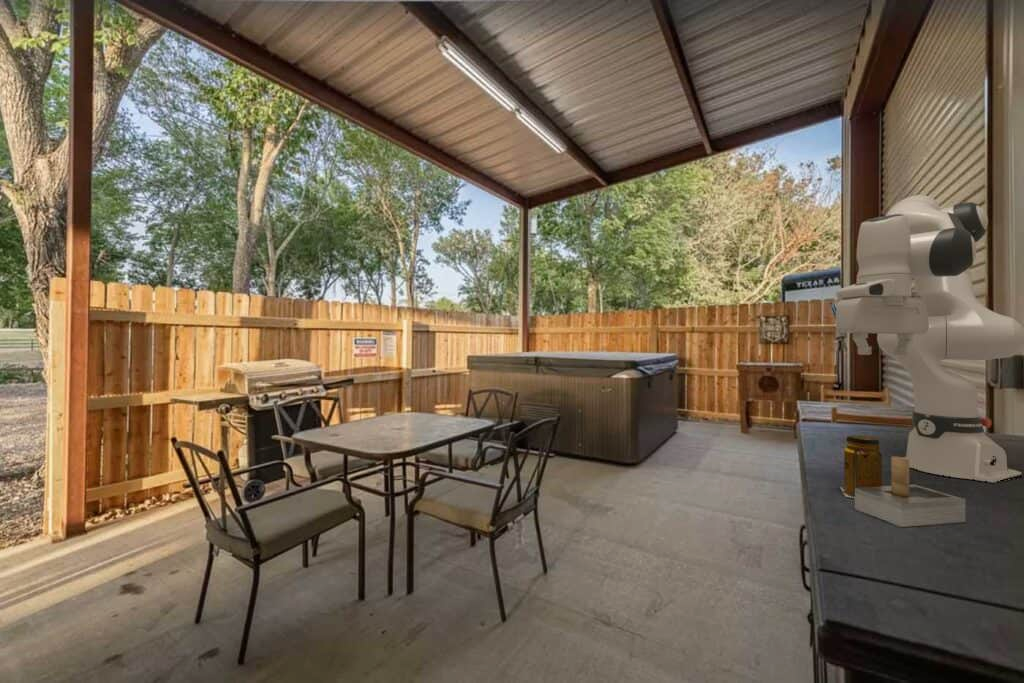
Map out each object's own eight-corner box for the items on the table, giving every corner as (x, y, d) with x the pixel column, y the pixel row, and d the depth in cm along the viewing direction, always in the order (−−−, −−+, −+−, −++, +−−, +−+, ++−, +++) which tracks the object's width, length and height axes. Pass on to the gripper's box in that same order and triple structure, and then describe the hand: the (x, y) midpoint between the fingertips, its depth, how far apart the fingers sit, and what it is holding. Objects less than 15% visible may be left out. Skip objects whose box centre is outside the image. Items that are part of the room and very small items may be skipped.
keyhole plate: (914, 504, 82) (914, 484, 82) (965, 521, 74) (965, 499, 74) (854, 509, 80) (854, 488, 80) (901, 527, 72) (901, 503, 72)
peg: (897, 508, 79) (897, 455, 79) (921, 517, 75) (921, 460, 75) (879, 509, 78) (879, 455, 78) (903, 518, 74) (903, 461, 74)
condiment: (839, 487, 92) (839, 432, 92) (890, 495, 88) (890, 437, 88) (845, 497, 86) (845, 438, 86) (900, 506, 82) (900, 444, 82)
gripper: (906, 294, 95) (905, 355, 95) (829, 290, 92) (829, 354, 91) (938, 290, 89) (938, 355, 89) (858, 286, 85) (858, 354, 85)
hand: (882, 355), depth 90 cm, fingers open, 8 cm apart
